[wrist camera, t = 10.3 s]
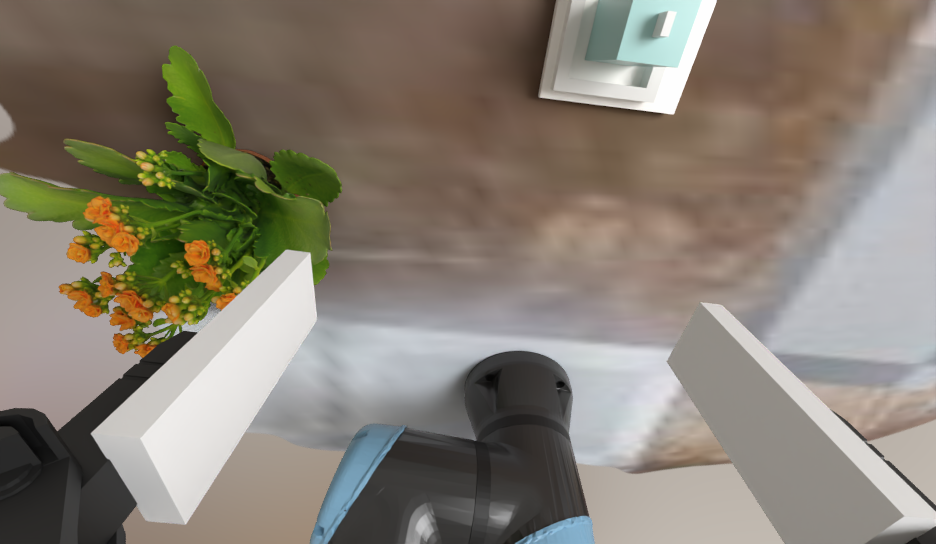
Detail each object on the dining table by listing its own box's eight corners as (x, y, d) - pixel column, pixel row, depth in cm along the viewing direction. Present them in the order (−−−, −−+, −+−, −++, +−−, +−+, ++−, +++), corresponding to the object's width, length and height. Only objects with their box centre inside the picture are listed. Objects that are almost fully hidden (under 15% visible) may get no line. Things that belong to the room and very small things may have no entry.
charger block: (631, 66, 29) (687, 68, 22) (584, 60, 29) (623, 59, 21) (649, 6, 27) (718, -16, 19) (598, -1, 27) (647, -25, 19)
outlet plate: (667, 112, 32) (682, 116, 30) (537, 96, 32) (542, 99, 30) (746, -102, 25) (773, -118, 23) (580, -126, 25) (590, -145, 22)
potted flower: (100, 24, 30) (-279, -12, 15) (378, 80, 32) (286, 97, 17) (174, 272, 43) (9, 386, 28) (369, 302, 44) (313, 426, 29)
